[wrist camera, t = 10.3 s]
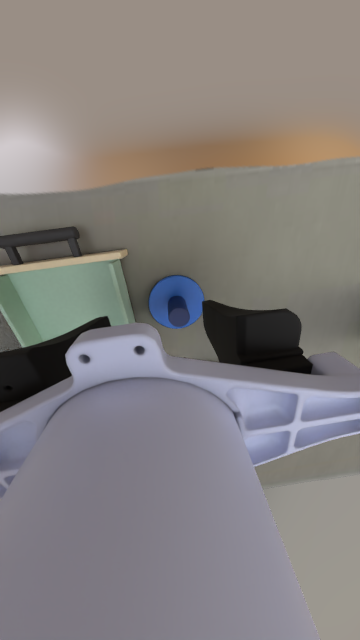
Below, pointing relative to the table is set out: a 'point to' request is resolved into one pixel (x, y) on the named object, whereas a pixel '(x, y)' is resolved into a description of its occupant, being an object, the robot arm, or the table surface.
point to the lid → (176, 301)
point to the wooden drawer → (60, 288)
